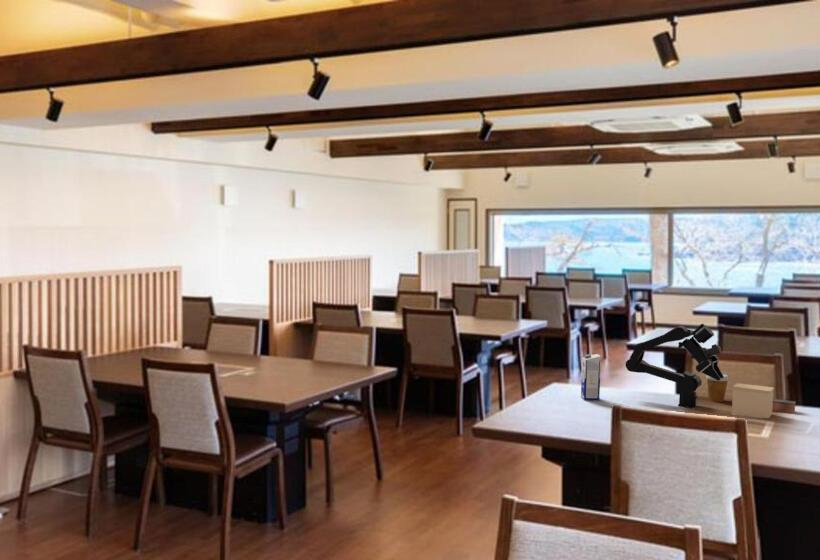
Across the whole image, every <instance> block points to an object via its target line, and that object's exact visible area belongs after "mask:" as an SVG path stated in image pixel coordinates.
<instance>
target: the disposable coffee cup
mask: <svg viewBox="0 0 820 560" xmlns="http://www.w3.org/2000/svg"><path fill="white" fill-rule="evenodd" d="M722 374H723V376H724V377H723V378H720V379H721V380H719V381H718V380H716V379H714V378H712V377H710V376H708V375H706V376H705V378H706V384H707V395H708V401H711V402H716V403H722V402H725V397H726V391H727V386H728V381H729V380H730V378H729V376H728V374H725V373H722Z"/></svg>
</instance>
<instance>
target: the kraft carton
mask: <svg viewBox="0 0 820 560" xmlns="http://www.w3.org/2000/svg"><path fill="white" fill-rule="evenodd" d="M731 389H732V403H731V405H732V406H731V414H732V413H733V414H741V415H748V416H755V417H762V418H763V419H770V417H772V415H773V411H772V405H773V399H774V390H775V387H771V386H764V385H756V384H755V385H754V384H748V383H740V382H739V383H737V382H736V383H735V384H734V385H733V386H732V388H731Z"/></svg>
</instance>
